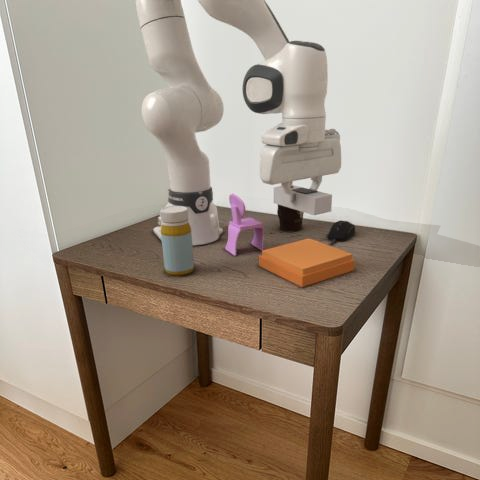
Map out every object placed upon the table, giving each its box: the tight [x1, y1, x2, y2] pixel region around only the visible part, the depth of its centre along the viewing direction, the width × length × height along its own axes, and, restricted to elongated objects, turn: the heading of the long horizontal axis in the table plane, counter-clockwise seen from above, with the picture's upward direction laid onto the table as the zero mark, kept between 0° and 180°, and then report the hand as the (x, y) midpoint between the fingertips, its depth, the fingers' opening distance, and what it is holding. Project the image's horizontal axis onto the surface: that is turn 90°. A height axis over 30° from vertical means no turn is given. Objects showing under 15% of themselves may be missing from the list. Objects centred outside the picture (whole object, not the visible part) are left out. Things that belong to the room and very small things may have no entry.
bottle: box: [159, 206, 195, 277], centre depth 107 cm, size 7×7×15 cm
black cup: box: [276, 204, 305, 233], centre depth 135 cm, size 12×9×10 cm
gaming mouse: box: [327, 220, 356, 246], centre depth 129 cm, size 6×15×4 cm, turn 152°
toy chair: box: [224, 193, 265, 257], centre depth 119 cm, size 8×9×15 cm
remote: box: [273, 184, 333, 216], centre depth 101 cm, size 14×5×4 cm, turn 34°
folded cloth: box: [258, 237, 356, 288], centre depth 109 cm, size 16×16×4 cm
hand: (301, 199), depth 101 cm, fingers closed on remote, 5 cm apart
